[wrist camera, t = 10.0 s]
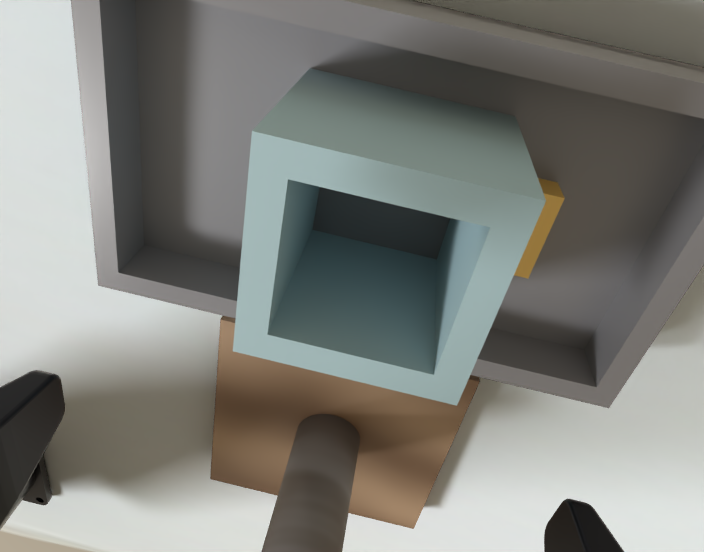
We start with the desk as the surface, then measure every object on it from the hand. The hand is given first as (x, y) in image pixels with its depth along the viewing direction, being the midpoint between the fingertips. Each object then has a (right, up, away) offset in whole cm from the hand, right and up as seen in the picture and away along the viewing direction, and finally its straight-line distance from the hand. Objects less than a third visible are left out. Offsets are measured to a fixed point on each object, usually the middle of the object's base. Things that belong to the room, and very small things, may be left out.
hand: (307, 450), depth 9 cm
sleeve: (+3, +6, +9) cm, 11 cm away
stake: (0, -4, +17) cm, 17 cm away
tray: (+2, +7, +10) cm, 12 cm away
